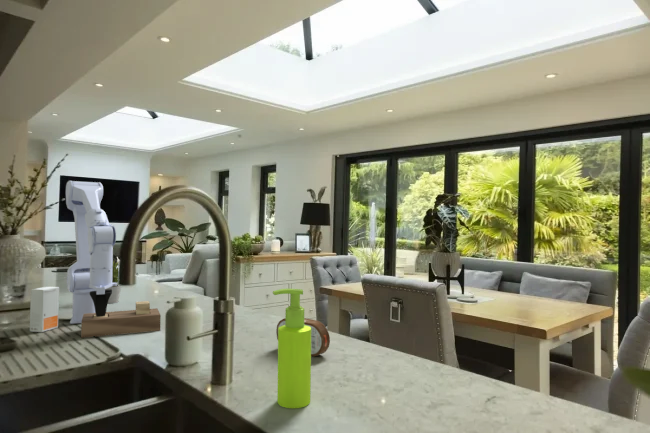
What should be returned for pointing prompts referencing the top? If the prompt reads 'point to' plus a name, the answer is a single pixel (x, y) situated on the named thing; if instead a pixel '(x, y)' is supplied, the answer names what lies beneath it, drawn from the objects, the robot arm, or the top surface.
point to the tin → (314, 336)
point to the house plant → (115, 289)
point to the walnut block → (120, 323)
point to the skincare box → (44, 309)
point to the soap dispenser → (294, 355)
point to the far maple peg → (142, 307)
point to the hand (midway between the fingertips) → (100, 316)
